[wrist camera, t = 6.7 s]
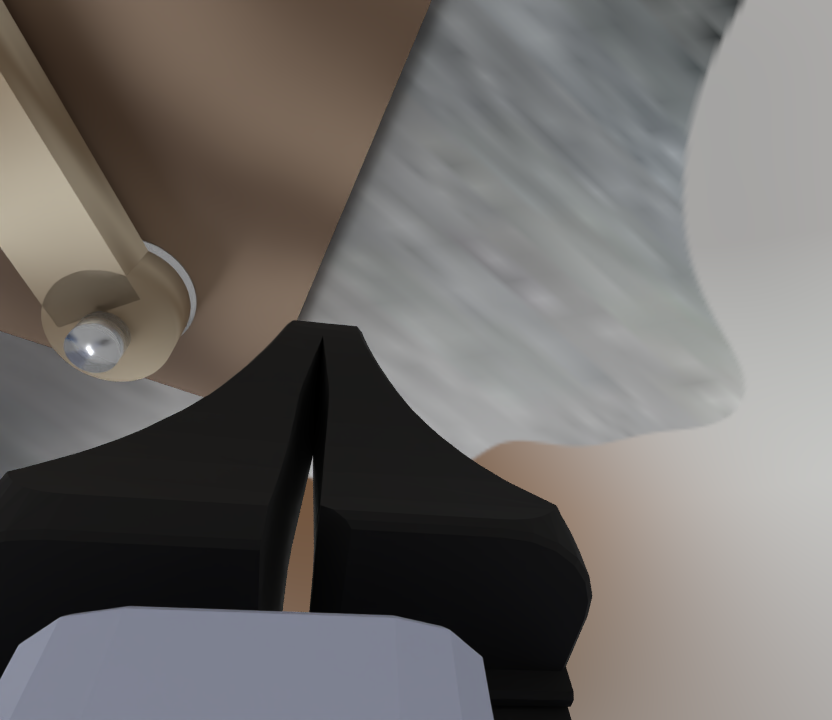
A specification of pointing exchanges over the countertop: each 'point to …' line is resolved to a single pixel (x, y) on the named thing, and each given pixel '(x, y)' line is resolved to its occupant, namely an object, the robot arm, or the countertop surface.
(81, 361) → the keeper
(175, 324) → the link
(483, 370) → the countertop surface
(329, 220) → the wooden cutting board
